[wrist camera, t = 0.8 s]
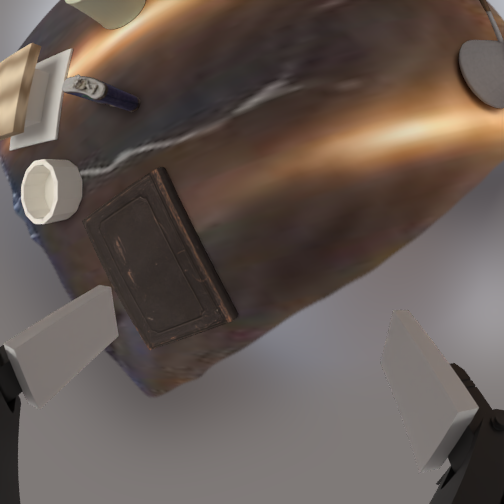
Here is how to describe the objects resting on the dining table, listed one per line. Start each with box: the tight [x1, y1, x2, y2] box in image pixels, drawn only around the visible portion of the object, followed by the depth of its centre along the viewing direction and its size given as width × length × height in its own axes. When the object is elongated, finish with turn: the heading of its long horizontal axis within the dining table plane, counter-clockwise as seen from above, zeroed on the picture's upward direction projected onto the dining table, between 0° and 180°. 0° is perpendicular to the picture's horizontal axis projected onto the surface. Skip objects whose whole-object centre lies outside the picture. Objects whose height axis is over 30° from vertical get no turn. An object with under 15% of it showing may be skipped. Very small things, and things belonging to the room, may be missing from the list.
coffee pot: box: [459, 0, 504, 108], centre depth 20 cm, size 21×12×15 cm, turn 33°
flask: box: [62, 75, 140, 112], centre depth 31 cm, size 9×3×11 cm, turn 66°
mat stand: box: [10, 48, 73, 150], centre depth 35 cm, size 18×16×7 cm
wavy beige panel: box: [0, 43, 41, 140], centre depth 30 cm, size 16×12×2 cm
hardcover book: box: [82, 167, 238, 350], centre depth 40 cm, size 16×23×2 cm
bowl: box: [21, 159, 82, 224], centre depth 38 cm, size 10×10×6 cm
